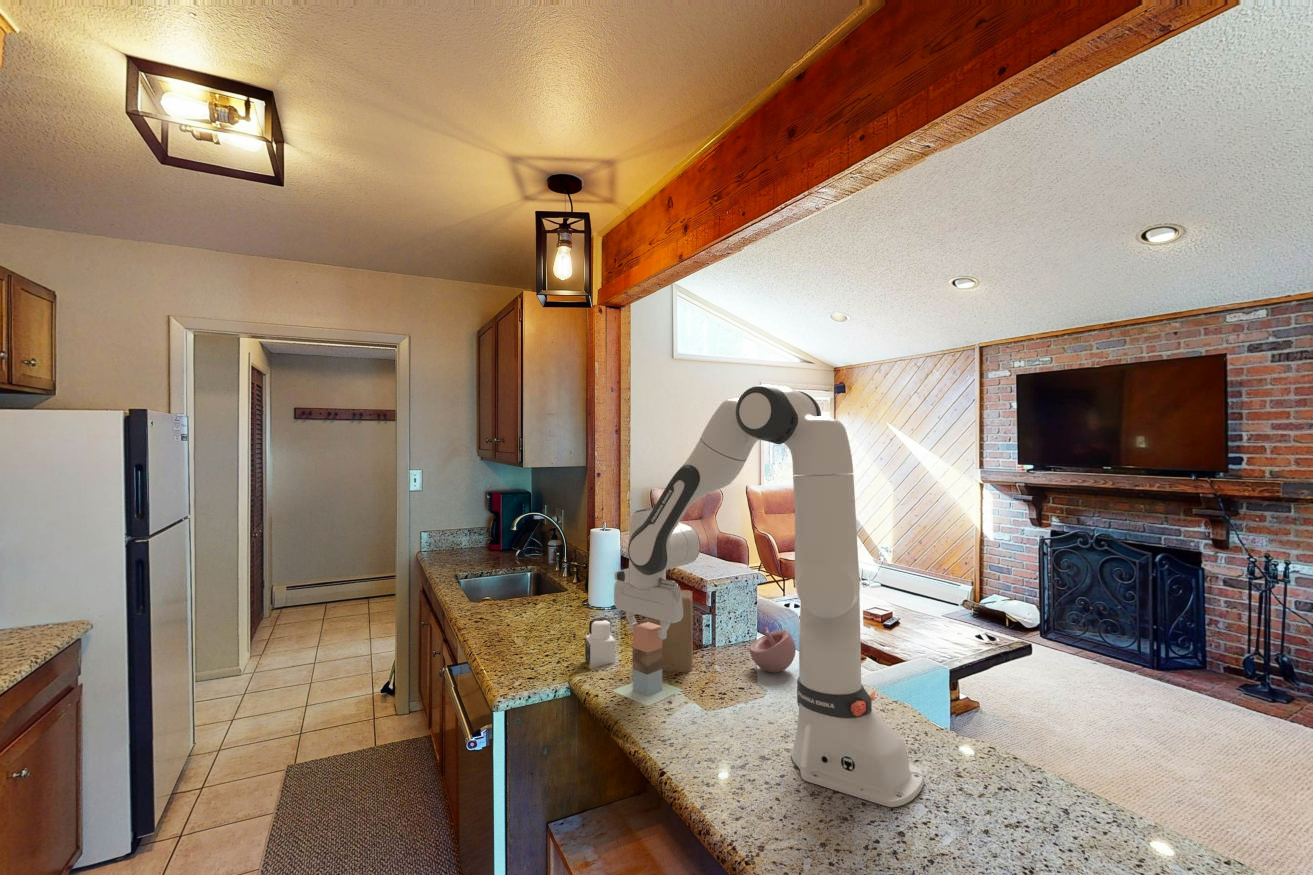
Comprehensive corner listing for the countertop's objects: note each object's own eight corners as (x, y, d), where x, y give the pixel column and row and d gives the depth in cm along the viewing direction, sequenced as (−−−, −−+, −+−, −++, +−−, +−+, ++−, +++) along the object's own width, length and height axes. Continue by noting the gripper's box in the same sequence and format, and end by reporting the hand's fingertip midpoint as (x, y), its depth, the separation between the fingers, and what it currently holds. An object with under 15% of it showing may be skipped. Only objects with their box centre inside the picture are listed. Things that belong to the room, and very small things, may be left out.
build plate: (683, 694, 132) (683, 689, 132) (647, 711, 123) (647, 705, 123) (647, 681, 140) (647, 676, 140) (611, 695, 132) (611, 690, 132)
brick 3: (662, 689, 132) (662, 668, 132) (647, 696, 128) (647, 674, 129) (647, 684, 135) (647, 663, 136) (632, 690, 132) (632, 668, 132)
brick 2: (662, 668, 132) (662, 647, 132) (647, 674, 128) (647, 652, 129) (647, 663, 136) (647, 642, 136) (632, 669, 132) (632, 647, 132)
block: (692, 662, 153) (692, 589, 154) (691, 676, 143) (691, 598, 144) (656, 661, 154) (656, 588, 155) (653, 675, 144) (652, 597, 145)
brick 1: (662, 647, 132) (662, 626, 133) (647, 652, 129) (647, 630, 129) (647, 642, 136) (647, 621, 136) (632, 647, 132) (632, 626, 132)
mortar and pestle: (747, 662, 154) (746, 620, 154) (790, 662, 153) (790, 620, 154) (752, 679, 142) (752, 633, 142) (800, 679, 141) (799, 634, 142)
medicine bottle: (584, 660, 155) (585, 617, 155) (609, 658, 157) (609, 615, 158) (589, 670, 148) (589, 624, 149) (615, 667, 150) (615, 622, 151)
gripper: (688, 579, 128) (689, 640, 128) (628, 568, 142) (628, 623, 142) (670, 584, 124) (670, 647, 123) (609, 572, 138) (609, 628, 137)
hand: (647, 634), depth 132 cm, fingers open, 8 cm apart
